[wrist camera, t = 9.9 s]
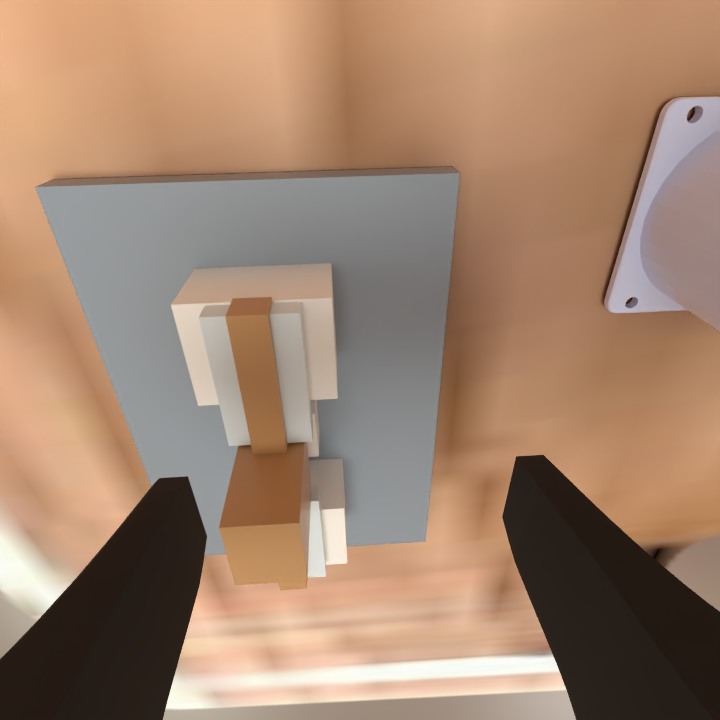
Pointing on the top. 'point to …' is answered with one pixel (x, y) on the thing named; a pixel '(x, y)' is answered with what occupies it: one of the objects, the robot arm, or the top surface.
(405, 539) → the display stand
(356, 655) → the top surface
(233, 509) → the brown and white bar
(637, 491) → the top surface
